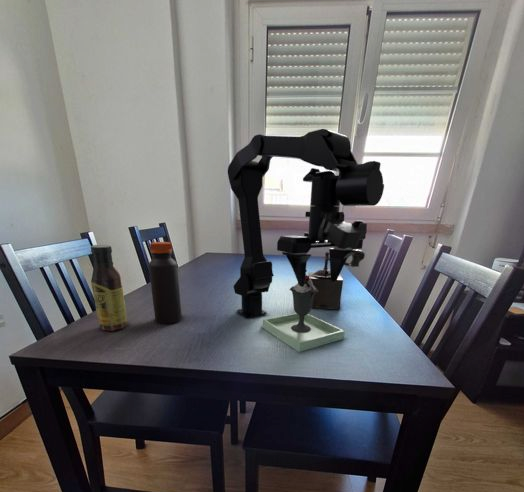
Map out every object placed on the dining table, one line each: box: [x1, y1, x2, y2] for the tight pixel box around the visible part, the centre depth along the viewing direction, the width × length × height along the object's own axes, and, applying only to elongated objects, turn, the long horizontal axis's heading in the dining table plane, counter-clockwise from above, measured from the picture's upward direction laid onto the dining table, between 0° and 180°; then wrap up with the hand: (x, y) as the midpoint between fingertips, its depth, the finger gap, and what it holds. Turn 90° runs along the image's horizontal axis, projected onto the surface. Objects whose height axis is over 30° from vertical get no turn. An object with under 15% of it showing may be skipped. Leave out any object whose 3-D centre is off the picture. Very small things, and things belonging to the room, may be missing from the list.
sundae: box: [289, 269, 318, 332], centre depth 67 cm, size 7×7×15 cm
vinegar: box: [148, 241, 183, 325], centre depth 72 cm, size 7×7×20 cm
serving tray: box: [262, 312, 346, 353], centre depth 69 cm, size 15×13×2 cm
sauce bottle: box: [90, 244, 128, 332], centre depth 66 cm, size 7×6×20 cm
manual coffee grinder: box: [307, 249, 366, 310], centre depth 87 cm, size 16×11×18 cm
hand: (318, 283), depth 61 cm, fingers open, 9 cm apart
